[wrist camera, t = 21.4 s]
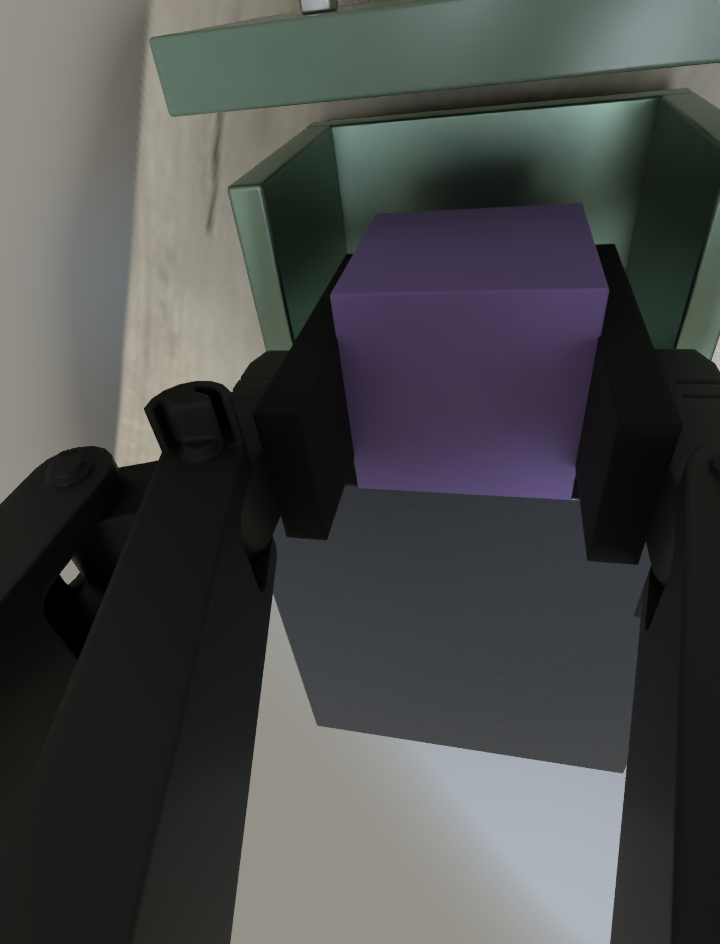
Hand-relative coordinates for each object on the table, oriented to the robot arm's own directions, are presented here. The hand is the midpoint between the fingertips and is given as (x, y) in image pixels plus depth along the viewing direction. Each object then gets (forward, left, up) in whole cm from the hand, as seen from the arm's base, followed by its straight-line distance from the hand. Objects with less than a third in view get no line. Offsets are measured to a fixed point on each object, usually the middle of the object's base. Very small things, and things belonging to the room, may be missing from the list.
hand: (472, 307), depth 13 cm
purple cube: (0, 0, 0) cm, 0 cm away
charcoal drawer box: (0, +11, -7) cm, 13 cm away
